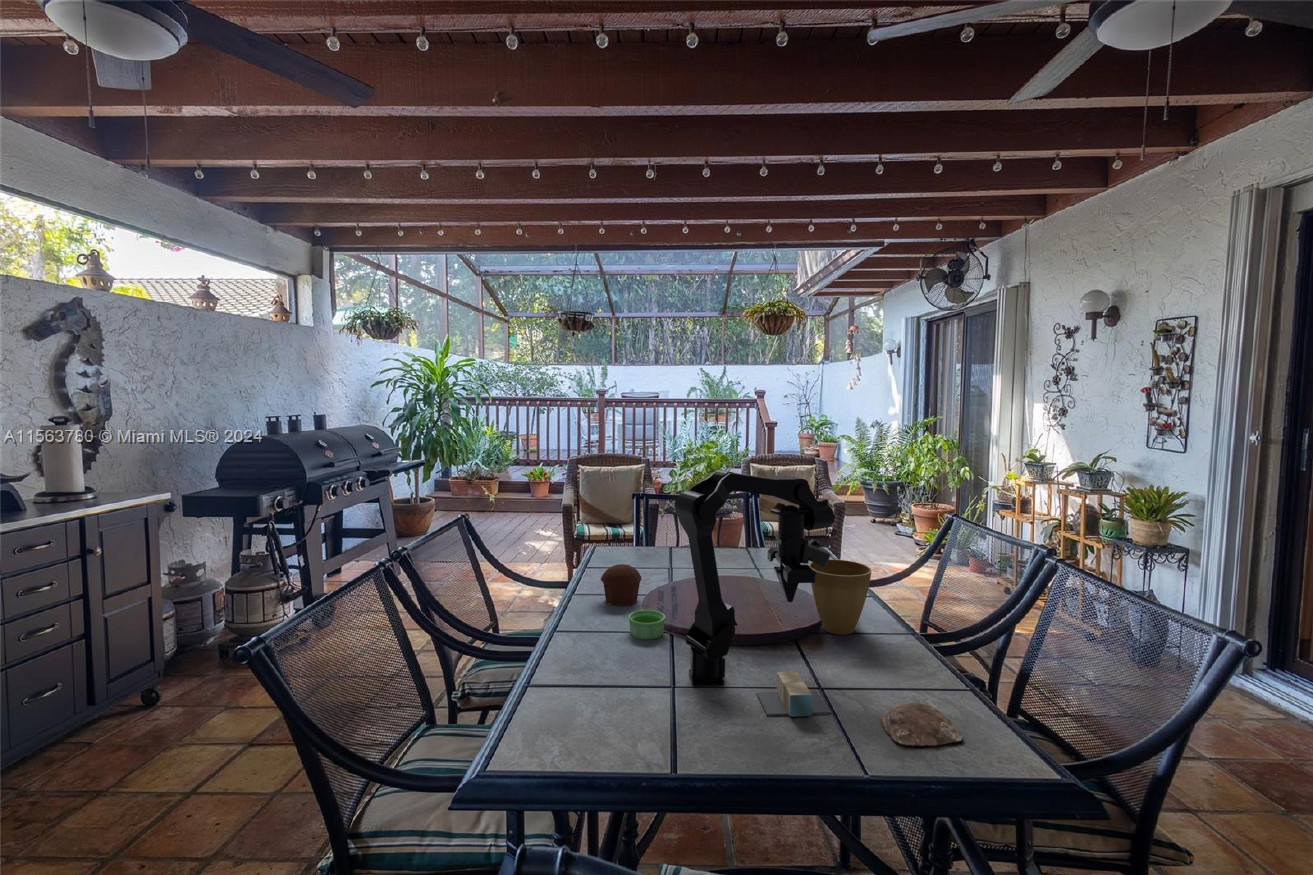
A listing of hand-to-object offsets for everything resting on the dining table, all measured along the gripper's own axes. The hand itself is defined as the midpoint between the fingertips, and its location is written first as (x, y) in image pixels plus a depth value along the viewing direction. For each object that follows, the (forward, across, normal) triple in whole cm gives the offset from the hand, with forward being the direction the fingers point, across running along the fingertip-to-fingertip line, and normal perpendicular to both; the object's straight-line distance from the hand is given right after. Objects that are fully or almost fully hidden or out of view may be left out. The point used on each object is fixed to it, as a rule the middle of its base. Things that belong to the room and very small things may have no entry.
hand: (789, 601), depth 136 cm
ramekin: (+13, +14, +31) cm, 37 cm away
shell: (+13, -30, -15) cm, 36 cm away
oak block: (+10, -26, +5) cm, 28 cm away
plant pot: (+13, +15, -17) cm, 26 cm away
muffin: (+13, +37, +38) cm, 54 cm away
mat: (+13, -20, +5) cm, 25 cm away
